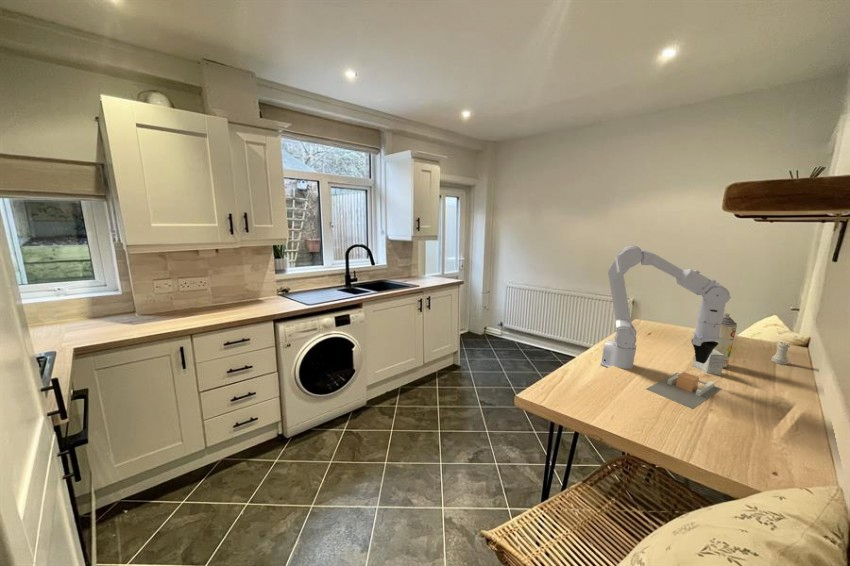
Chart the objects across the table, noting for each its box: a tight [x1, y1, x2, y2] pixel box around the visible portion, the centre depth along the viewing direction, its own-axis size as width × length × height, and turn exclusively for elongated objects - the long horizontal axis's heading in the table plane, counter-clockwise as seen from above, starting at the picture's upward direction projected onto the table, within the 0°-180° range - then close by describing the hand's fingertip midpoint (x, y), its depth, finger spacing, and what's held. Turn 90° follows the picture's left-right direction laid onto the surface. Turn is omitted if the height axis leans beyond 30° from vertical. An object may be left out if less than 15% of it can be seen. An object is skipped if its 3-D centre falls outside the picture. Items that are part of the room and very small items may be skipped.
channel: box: [645, 371, 723, 410], centre depth 99 cm, size 12×22×3 cm, turn 121°
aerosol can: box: [714, 312, 738, 369], centre depth 118 cm, size 7×7×20 cm
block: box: [676, 371, 700, 392], centre depth 99 cm, size 4×4×4 cm
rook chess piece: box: [770, 341, 791, 366], centre depth 122 cm, size 4×4×8 cm
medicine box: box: [692, 349, 725, 377], centre depth 112 cm, size 8×4×9 cm, turn 168°
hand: (700, 362), depth 102 cm, fingers closed
